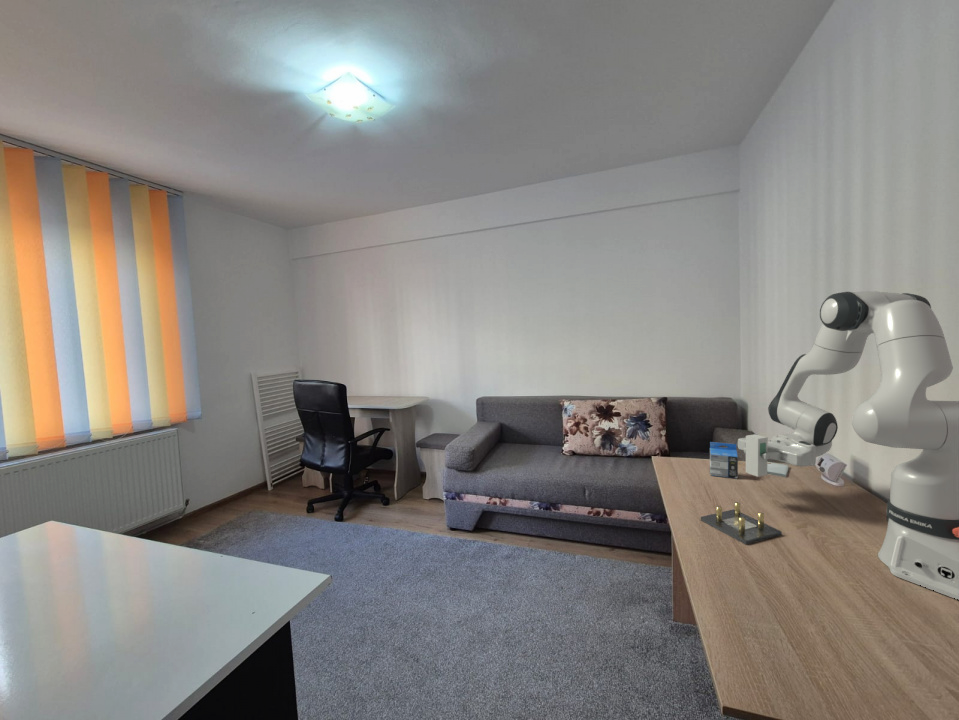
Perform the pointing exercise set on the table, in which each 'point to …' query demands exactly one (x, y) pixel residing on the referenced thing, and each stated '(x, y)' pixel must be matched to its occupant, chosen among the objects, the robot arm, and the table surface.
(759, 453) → the block
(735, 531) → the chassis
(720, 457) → the label tape box
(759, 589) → the table surface
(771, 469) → the hard drive
